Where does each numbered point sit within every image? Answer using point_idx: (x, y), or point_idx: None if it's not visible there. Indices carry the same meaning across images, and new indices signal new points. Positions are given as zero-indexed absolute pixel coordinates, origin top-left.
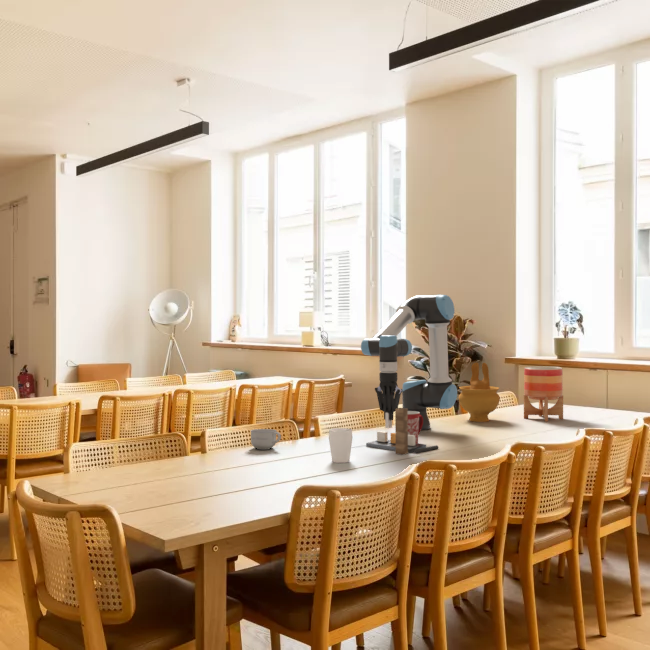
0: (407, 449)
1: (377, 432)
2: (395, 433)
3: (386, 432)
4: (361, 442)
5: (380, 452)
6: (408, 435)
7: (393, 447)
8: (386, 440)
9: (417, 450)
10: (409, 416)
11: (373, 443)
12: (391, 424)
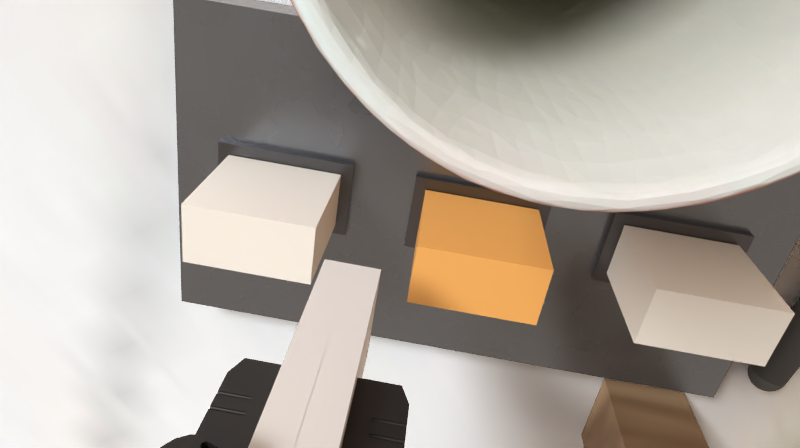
0: (693, 423)
1: (193, 256)
2: (472, 287)
3: (314, 247)
4: (7, 110)
5: (442, 436)
6: (696, 349)
7: (515, 356)
8: (336, 200)
9: (789, 378)
10: (728, 143)
11: (255, 295)
12: (372, 313)
